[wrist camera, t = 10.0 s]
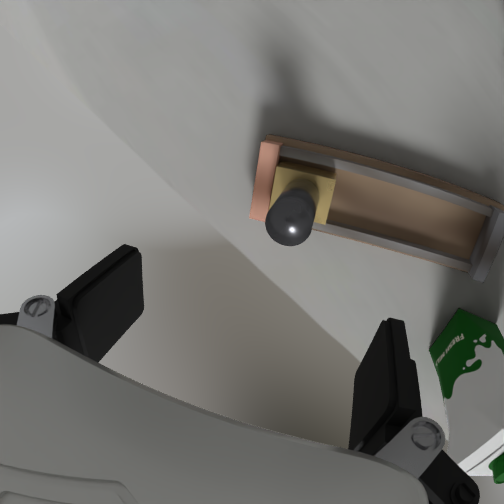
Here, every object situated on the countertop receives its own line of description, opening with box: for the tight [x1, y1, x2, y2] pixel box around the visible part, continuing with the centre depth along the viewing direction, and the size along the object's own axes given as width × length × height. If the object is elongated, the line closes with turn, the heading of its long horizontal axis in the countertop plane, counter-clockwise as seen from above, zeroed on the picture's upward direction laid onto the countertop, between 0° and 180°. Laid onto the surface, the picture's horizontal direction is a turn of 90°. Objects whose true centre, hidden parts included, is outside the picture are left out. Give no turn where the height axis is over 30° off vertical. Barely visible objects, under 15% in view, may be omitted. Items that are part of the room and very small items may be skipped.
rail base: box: [249, 134, 504, 283], centre depth 27 cm, size 8×25×4 cm, turn 82°
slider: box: [265, 161, 336, 246], centre depth 24 cm, size 4×5×10 cm
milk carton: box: [429, 308, 504, 484], centre depth 24 cm, size 9×9×20 cm
